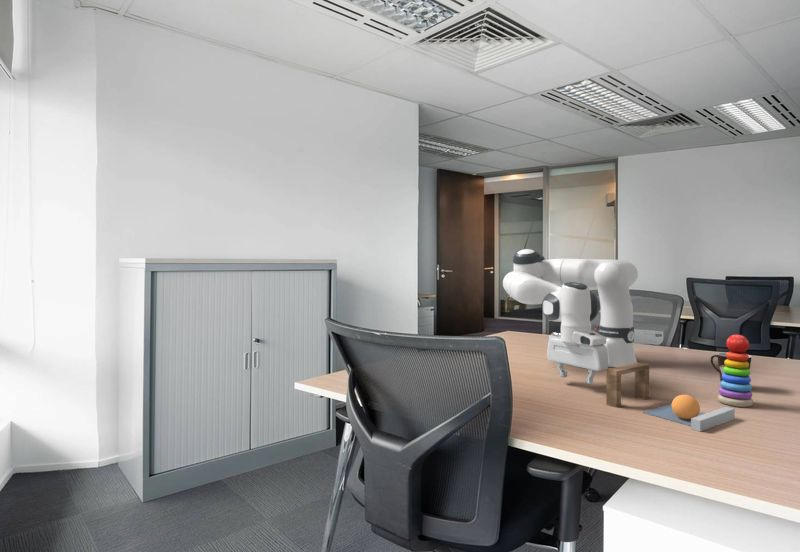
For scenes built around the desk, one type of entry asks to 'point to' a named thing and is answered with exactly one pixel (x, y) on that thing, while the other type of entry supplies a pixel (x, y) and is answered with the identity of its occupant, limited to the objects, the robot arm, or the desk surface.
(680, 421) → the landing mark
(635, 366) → the bridge
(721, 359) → the coffee mug
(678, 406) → the ball
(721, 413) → the stopper wall
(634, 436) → the desk surface
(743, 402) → the stacking toy
